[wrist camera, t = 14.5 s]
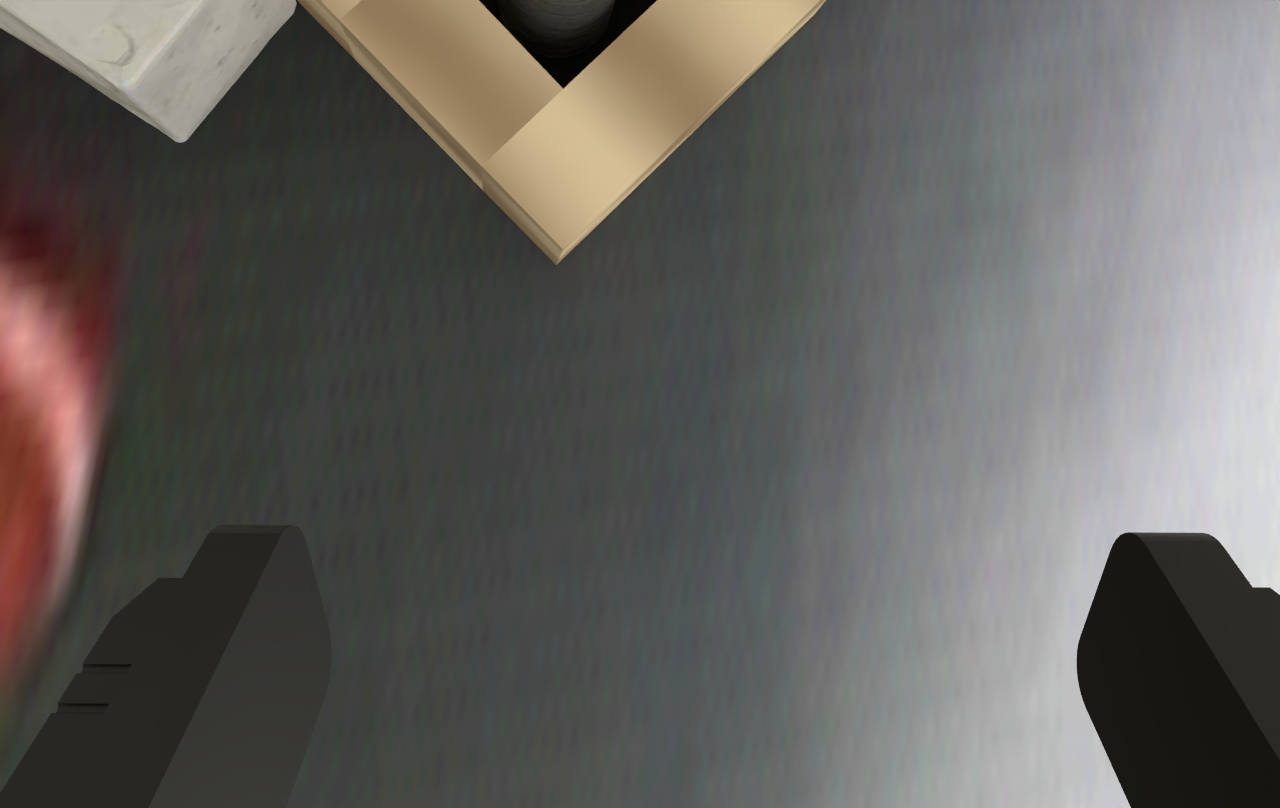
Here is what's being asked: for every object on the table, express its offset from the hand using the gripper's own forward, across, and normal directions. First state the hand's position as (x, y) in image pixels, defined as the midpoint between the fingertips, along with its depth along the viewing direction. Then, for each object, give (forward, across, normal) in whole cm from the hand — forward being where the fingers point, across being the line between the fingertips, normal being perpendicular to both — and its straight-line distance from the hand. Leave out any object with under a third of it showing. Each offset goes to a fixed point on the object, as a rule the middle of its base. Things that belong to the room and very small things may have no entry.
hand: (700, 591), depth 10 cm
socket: (+26, +4, -1) cm, 26 cm away
